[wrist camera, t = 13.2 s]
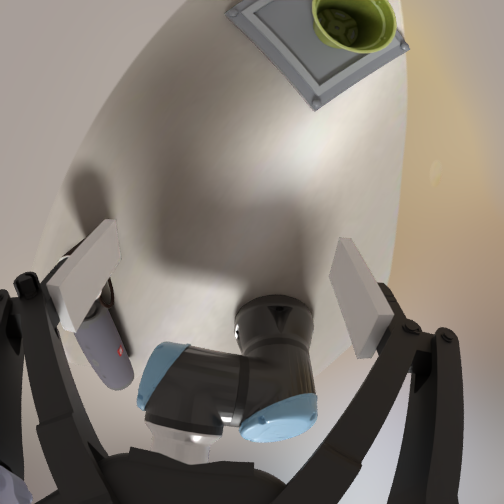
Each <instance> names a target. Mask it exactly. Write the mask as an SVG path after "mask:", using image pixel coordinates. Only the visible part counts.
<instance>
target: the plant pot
mask: <svg viewBox="0 0 504 504" xmlns="http://www.w3.org/2000/svg"><path fill="white" fill-rule="evenodd" d="M336 12H337V13H340V14H343V15H345V17H342V16H340V15H338V14H335V13H336ZM312 14H313V18H314V22H313V29H314V32H315V34H316V35H317V37H318V38H319V39H320V41H322V42H323V43H324V44H326V45H327V46H330V47H333V48H338V49H345V50H348V51H351V52H355V53H373V52H377V51H380V50H382V49H384V48H386V47H387V46H388V45H389V44H390V43H391V42H392V40H393V38H394V36H395V33H396V27H397V23H396V17H395V13H394V11H393V9H392V7H391V5H390V3H389V2H388V0H312ZM319 18H322V20H321V22H319ZM336 26H337V27H339V29H335V27H336ZM353 31H354V34H355V35H354V38H353V39H351V38H350V37H351V35H352V32H353Z"/></svg>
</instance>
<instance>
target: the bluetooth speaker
mask: <svg viewBox="0 0 504 504" xmlns="http://www.w3.org/2000/svg"><path fill="white" fill-rule="evenodd" d="M102 300H103V299H102ZM73 333H74V335H75V337H76V339H77V341H78V343H79V345H80V347H81V349H82V351H83V353H84V354H85V356H86V358H87V359H88V361H89V363H90V364H91V366H92V367H93V369H94V370H95V372H96V373H97V375H98V376H99V378H100V379H101V380H102V381H103V383H104V384H105V385H106V386H107V387H108V388H110V389H112V390H123V389H125V388H126V387H128V386H129V385H130V384H131V383H132V381H133V379H134V372H133V368H132V365H131V362H130V360H129V357H128V355H127V352H126V350H125V347H124V345H123V343H122V340H121V338H120V335H119V333H118V331H117V329H116V326H115V324H114V322H113V320H112V318H111V315H110V313H109V311H108V309H107V308H105V307H103V306H102V305H101V303H100V302H99V299H96V300H95V301H94V303H93V305H92V306H91V308H90V310H89V311H88V313H87V315H86V316H85V318H84V320H83V321H82V323H81V325H80V327H79V328H78V330H77V332H76V333H75V332H73Z"/></svg>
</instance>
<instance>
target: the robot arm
mask: <svg viewBox="0 0 504 504" xmlns="http://www.w3.org/2000/svg"><path fill="white" fill-rule="evenodd" d="M120 261H121V253H120V246H119V239H118V231H117V223H116V219H105V220H104V221H103V222H102V223H101V224H100V225H99V226H98V227H97V228H96V229H95V230H94V231H93V232H92V233H91V234H90V235H89V236H88V237H87V238H86V239H85V240H84V241H83V242H82V243H81V245H80V246H79V247H78V248H77V249H76V250H75V251H74V252H73V253H72V254H71V256H70V257H66V258H64V259H63V260H61V261H59V262H58V263H57V265H56V266H55V267H54V269H52V270H51V271H50V273H49V274H48V275H47V276H46V277H45V278H44V280H43V281H42V282H41V283H39V280H38V277H37V275H36V273H34V272H25V273H23V274H21V275H19V276H18V277H17V278H16V279H15V280H14V283H13V284H14V287H15V289H16V292H17V295H18V297H13V298H10V296H9V293H8V291H7V290H5V289H1V290H0V504H31V502H32V500H33V497H32V494H31V493H30V491H29V490H28V488H27V485H26V484H25V482H24V458H23V447H22V427H21V395H22V375H23V363H24V354H25V360H26V366H27V371H28V377H29V382H30V386H31V390H32V395H33V399H34V403H35V407H36V411H37V415H38V418H39V425H37V426H36V430H37V435H38V438H39V441H40V444H41V447H42V450H43V453H44V456H45V458H46V461H47V464H48V466H49V469H50V471H51V474H52V476H53V479H54V481H55V483H56V485H57V488H58V490H56V491H54V492H53V493H51V494H50V495H48V496H46V497H45V498H43V499H42V500H40V501H38V502H37V503H35V504H337V503H338V502H339V501H340V499H341V498H342V497H343V495H344V494H345V492H346V491H347V489H348V488H349V487H350V485H351V484H352V482H353V481H354V479H355V478H356V476H357V475H358V473H359V471H360V469H361V467H362V464H361V463H362V460H363V459H364V457H365V455H366V454H367V452H368V450H369V449H370V447H371V445H372V444H373V442H374V440H375V438H376V436H377V435H378V433H379V431H380V429H381V427H382V425H383V424H384V422H385V420H386V418H387V416H388V414H389V412H390V410H391V408H392V406H393V404H394V401H395V400H396V397H397V395H398V393H399V391H400V389H401V387H402V384H403V382H404V380H405V377H406V375H407V373H411V384H410V394H409V402H408V410H407V416H406V423H405V429H404V434H403V440H402V445H401V450H400V455H399V459H398V464H397V468H396V472H395V476H394V480H393V483H392V487H391V491H390V494H389V497H388V501H387V504H459V503H458V496H457V495H458V488H459V481H460V472H461V464H462V450H463V430H464V403H463V402H464V401H463V380H462V367H461V359H460V358H461V357H460V348H459V341H458V337H457V336H456V335H455V333H454V332H453V331H452V330H450V329H448V328H444V327H441V328H438V330H437V331H436V332H435V334H430V333H425V332H422V330H421V327H420V326H419V325H418V324H417V323H416V322H414V321H413V320H410V319H407V318H406V316H405V315H404V313H403V311H402V309H401V308H400V306H399V304H398V302H397V300H396V299H395V297H394V295H393V294H392V292H391V290H390V289H389V288H388V287H387V286H386V285H385V284H384V283H377V282H376V280H375V278H374V276H373V275H372V273H371V271H370V269H369V268H368V266H367V264H366V262H365V261H364V259H363V257H362V256H361V254H360V252H359V251H358V249H357V247H356V246H355V244H354V242H353V241H352V239H350V238H341V237H339V241H338V245H337V249H336V252H335V256H334V260H333V263H332V267H331V271H330V274H329V278H330V281H331V284H332V286H333V289H334V292H335V295H336V297H337V300H338V303H339V306H340V309H341V312H342V315H343V317H344V320H345V323H346V326H347V329H348V332H349V335H350V338H351V341H352V344H353V348H354V350H355V354H356V357H357V359H363V358H372V356H373V355H374V353H375V351H376V350H377V352H378V355H379V357H378V358H377V360H376V362H375V364H374V365H373V367H372V368H371V370H370V372H369V374H368V375H367V377H366V379H365V381H364V382H363V384H362V385H361V387H360V389H359V390H358V392H357V393H356V395H355V396H354V398H353V399H352V401H351V403H350V404H349V406H348V407H347V409H346V410H345V411H344V413H343V414H342V416H341V417H340V419H339V420H338V422H337V423H336V424H335V426H334V427H333V428H332V430H331V431H330V433H329V434H328V435H327V437H326V438H325V439H324V440H323V442H322V443H321V444H320V446H319V447H318V448H317V449H316V451H315V452H314V453H313V455H312V456H311V457H310V458H309V459H308V461H307V462H306V463H305V464H304V465H303V467H302V468H301V469H300V470H299V471H298V472H297V473H296V475H295V476H294V477H293V478H292V479H291V480H290V481H289V482H288V483H287V484H285V483H283V482H282V481H281V480H280V479H278V478H276V477H275V476H273V475H271V474H269V473H267V472H264V471H261V470H258V469H254V463H253V462H230V461H219V462H212V463H208V459H209V452H210V446H211V445H212V444H213V443H214V442H215V441H217V440H218V439H220V438H221V437H222V433H223V427H224V426H232V427H239V432H240V434H241V436H242V437H243V438H244V439H246V440H250V441H252V442H275V441H281V440H285V439H289V438H292V437H295V436H298V435H300V434H302V433H304V432H305V431H307V430H308V429H310V428H311V427H312V426H313V425H314V423H315V422H316V420H317V416H318V414H317V395H316V392H315V386H314V379H313V373H312V367H311V361H310V356H309V348H310V344H311V339H312V335H313V331H314V324H313V319H312V314H311V312H310V310H309V309H308V307H307V306H306V305H305V304H303V303H302V302H301V301H299V300H297V299H294V298H292V297H288V296H282V295H271V296H264V297H260V298H257V299H255V300H253V301H251V302H249V303H247V304H246V305H245V306H243V307H242V308H241V309H240V311H239V312H238V314H237V316H236V319H235V329H234V332H235V337H236V340H237V343H238V345H239V348H240V351H241V353H242V355H237V354H231V353H225V352H220V351H214V350H209V349H204V348H199V347H195V346H191V344H186V345H185V344H179V343H173V342H163V343H161V344H159V345H158V346H157V347H156V348H155V349H154V351H153V352H152V354H151V356H150V358H149V360H148V362H147V365H146V367H145V370H144V372H143V375H142V378H141V382H140V385H139V389H138V397H137V406H138V407H139V408H140V409H141V410H142V411H146V415H145V421H144V422H145V424H146V425H147V426H148V428H149V429H150V430H151V432H152V435H153V436H152V443H151V450H150V451H148V450H143V449H138V448H134V447H130V451H129V453H121V454H116V455H112V456H108V454H107V452H106V451H105V450H104V448H103V447H102V445H101V443H100V441H99V439H98V437H97V435H96V433H95V431H94V429H93V427H92V424H91V422H90V420H89V418H88V415H87V413H86V411H85V408H84V406H83V403H82V401H81V398H80V396H79V393H78V390H77V388H76V385H75V383H74V379H73V377H72V374H71V371H70V368H69V365H68V362H67V358H66V355H65V352H64V349H63V345H62V342H61V338H60V334H59V331H58V329H57V325H58V323H59V322H61V325H62V327H63V329H64V330H66V331H70V332H75V333H76V332H77V330H78V328H79V327H80V325H81V323H82V321H83V320H84V318H85V316H86V315H87V313H88V311H89V310H90V308H91V306H92V305H93V303H94V301H95V300H96V298H97V296H98V295H99V293H100V291H101V290H102V288H103V287H104V285H105V284H106V282H107V280H108V279H109V277H110V276H111V274H112V273H113V271H114V270H115V268H116V267H117V265H118V264H119V262H120Z"/></svg>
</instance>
